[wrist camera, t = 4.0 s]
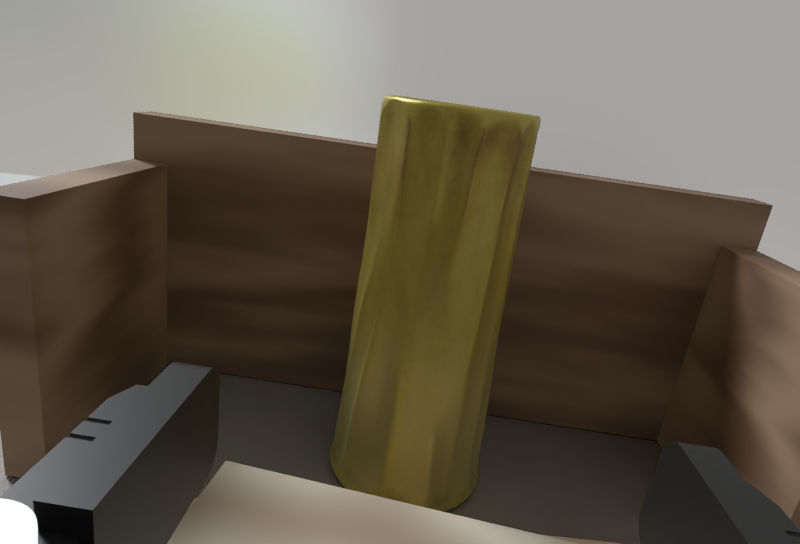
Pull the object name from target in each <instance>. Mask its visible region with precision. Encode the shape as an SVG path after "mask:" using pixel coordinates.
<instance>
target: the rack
mask: <svg viewBox="0 0 800 544" xmlns="http://www.w3.org/2000/svg"><path fill="white" fill-rule="evenodd" d="M133 117H134V118H133V119H134V159H132V160H127V161H122V162H117V163H112V164H107V165H102V166H98V167H93V168H88V169H83V170H78V171H73V172H68V173H63V174H58V175H53V176H48V177H43V178H38V179H33V180H28V181H23V182H19V183H14V184H9V185H4V186H0V431H1V440H2V449H3V458H4V467H5V476H11V477H18V478H21V477H22V476H23V475H25V474H26V473H27V472H28V471H29V470H30V469H31V468H32V467H33V466H34V465H35V464H37V463H38V462H39V461H40V460H41V459H42V458H43V457H44V456H45V455H46V454H48V453H49V452H50V451H51V450H52V449H53V448H54V447H55V446H56V445H57V444H59V443H60V442H61V441H62V440H63V439H64V438H65V437H67V438H68V437H69V436H70V433H71V432H72V431H73V430H74V429H75V428H76V427H77V426H78V425H79V424H81V423H82V422H83V421H87V417H88V416H89V415H90V414H91V413H93V412H94V411H95V410H96V409H97V408H98V407H99V406H100V405H101V404H102V403H104V402H105V401H106V400H107V399H108V398H110V397H112V396H114V395H116V394H118V393H120V392H122V391H125V390H127V389H129V388H131V387H133V386H135V385H143V386H146V385H147V384H148V383H149V382H150V381H151V380H152V379H153V378H154V377H155V376H156V375H157V374H158V373H159V372H160V371H161V370H162V369H163V368H164V367H165V366H166V365H170V364H171V363H173V362H180V363H187V364H193V365H200V366H206V367H212V368H216V369H217V370H218V372H219V373H225V374H231V375H238V376H244V377H251V378H257V379H263V380H270V381H276V382H283V383H289V384H295V385H302V386H308V387H315V388H321V389H328V390H334V391H340V392H343V387H344V382H345V377H346V368H347V359H348V353H349V345H350V337H351V329H352V322H353V314H354V307H355V300H356V294H357V287H358V281H359V275H360V270H361V264H362V258H363V251H364V244H365V238H366V231H367V224H368V217H369V207H370V198H371V189H372V181H373V173H374V166H375V158H376V151H377V144H370V143H363V142H356V141H350V140H343V139H336V138H329V137H322V136H315V135H308V134H301V133H295V132H288V131H281V130H274V129H267V128H260V127H253V126H246V125H239V124H233V123H226V122H218V121H212V120H205V119H198V118H191V117H184V116H178V115H171V114H164V113H157V112H134V113H133ZM771 209H772V205H769V204H766V203H763V202H760V201H757V200H754V199H748V198H741V197H734V196H727V195H720V194H713V193H706V192H700V191H692V190H686V189H679V188H672V187H666V186H658V185H651V184H645V183H638V182H631V181H624V180H617V179H610V178H604V177H597V176H590V175H583V174H576V173H569V172H562V171H556V170H549V169H542V168H535V167H531V168H530V174H529V180H528V186H527V191H526V197H525V202H524V208H523V212H522V217H521V222H520V227H519V232H518V238H517V244H516V249H515V254H514V260H513V265H512V269H511V274H510V279H509V284H508V289H507V294H506V299H505V305H504V310H503V316H502V321H501V326H500V331H499V337H498V343H497V349H496V356H495V361H494V369H493V376H492V383H491V389H490V396H489V403H488V409H487V414H488V415H495V416H501V417H507V418H514V419H520V420H527V421H533V422H540V423H546V424H552V425H559V426H565V427H572V428H578V429H585V430H591V431H597V432H604V433H610V434H617V435H623V436H630V437H636V438H642V439H649V440H655V441H657V442H658V444H659V445H660V447H661V448H662V449H663V447H664V446H665V445H666V444H667V443H668V442H670V441H676V442H682V443H688V444H695V445H701V446H707V447H714V448H717V449H719V450H720V451H721V452H722V453H723V454H724V455H725V456H726V458H727V459H728V460H729V461H730V463H731V464H732V465H733V467H734V468H735V469H736V470H737V472H738V473H739V474H740V475H741V477H742V478H743V479H744V480H745V482H747V483H750V484H751V485H753V486H754V487H755V488H756V489H758V490H759V491H760V492H762V493H763V494H764V495H765V496H767V497H768V498H769V499H770V500H772V501H773V502H774V503H776V504H777V505H778V506H779V507H780V508H781V509H782V510H783V511H784V512H785V514H786V515H787V516H788V517H789V518H790V520H791V521H792V522H793V523H794V525H795V526H796V527H797V528H798V529H799V531H800V272H799V271H797V270H795V269H793V268H791V267H789V266H787V265H785V264H782V263H781V262H779V261H777V260H775V259H772V258H770V257H768V256H766V255H764V254H762V253H760V252H758V251H757V248H758V246H759V243H760V240H761V237H762V234H763V232H764V229H765V226H766V223H767V220H768V217H769V215H770V212H771ZM167 544H622V543H614V542H604V541H595V540H586V539H576V538H567V537H558V536H549V535H539V534H535V533H531V532H527V531H522V530H518V529H514V528H510V527H505V526H501V525H497V524H493V523H488V522H484V521H480V520H476V519H472V518H467V517H463V516H459V515H455V514H450V513H446V512H442V511H438V510H434V509H429V508H425V507H421V506H417V505H412V504H408V503H404V502H400V501H395V500H391V499H387V498H383V497H379V496H374V495H370V494H366V493H362V492H357V491H353V490H349V489H345V488H341V487H336V486H332V485H328V484H324V483H319V482H315V481H311V480H307V479H302V478H298V477H294V476H290V475H286V474H281V473H277V472H273V471H269V470H264V469H260V468H256V467H252V466H247V465H243V464H239V463H235V462H231V461H225V462H224V464H223V465H222V466H221V467H220V469H219V470H218V471H217V473H216V474H215V475H214V477H213V478H212V479H211V481H210V482H209V483H208V484H207V486H206V487H205V488H204V490H203V491H202V492H201V494H200V495H199V496H198V497H197V498H196V497H195V499H194V500H193V502H192V503H191V505H190V507H189V508H188V510H187V512H186V513H185V515H184V517H183V518H182V520H181V521H180V523H179V525H178V526H177V528H176V530H175V531H174V533H173V535H172V536H171V538H170V540H169V541H168V543H167Z"/></svg>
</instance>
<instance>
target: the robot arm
mask: <svg viewBox="0 0 800 544" xmlns="http://www.w3.org/2000/svg"><path fill="white" fill-rule="evenodd" d="M219 385H220V378H219V372H218V370H217V369H216V368H212V367H206V366H200V365H193V364H187V363H180V362H173V363H171V364H170V365H169V366H168V367H167V368H166V369H165V370H164V371H163V372H162V373H161V374H160V375H159V376H158V377H157V378H156V379H155V380H154V381H153V382H152V383H151V384H150V385H149V386H143V385H135V386H133V387H131V388H129V389H127V390H125V391H122V392H120V393H118V394H116V395H114V396H112V397H110V398H108V399H107V400H106V401H105V402H104V403H102V404H101V405H100V406H99V407H98V408H97V409H96V410H95V411H94V412H93V413H91V414H90V415H89V416H88V417H87V421H83V422H82V423H81V424H79V425H78V426H77V427H76V428H75V429H74V430H73V431H72V432H71V433H70V436H69V437H68V438H67V437H65V438H64V439H63V440H62V441H61V442H60V443H59V444H57V445H56V446H55V447H54V448H53V449H52V450H51V451H50V452H49V453H48V454H46V455H45V456H44V457H43V458H42V459H41V460H40V461H39V462H38V463H37V464H35V465H34V466H33V467H32V468H31V469H30V470H29V471H28V472H27V473H26V474H25V475H23V476H22V477H21V478H20V479H19V480H18V481H17V482H16V483H15V484H14V485H12V486H11V487H10V488H9V489H8V490H7V491H6V492H5V493H4V494H3V495H1V496H0V544H167V543H168V541H169V540H170V538H171V536H172V535H173V533H174V531H175V530H176V528H177V526H178V525H179V523H180V521H181V520H182V518H183V517H184V515H185V513H186V512H187V510H188V508H189V507H190V505H191V503H192V502H193V500H194V499H195V497H196V495H197V494H198V492H199V490H200V489H201V487H202V485H203V484H204V482H205V480H206V479H207V477H208V475H209V473H210V470H211V468H212V465H213V462H214V458H215V454H216V449H217V440H218V413H219ZM639 534H640V541H641V544H800V531H799V529H798V528H797V527H796V526H795V525H794V523H793V522H792V521H791V520H790V518H789V517H788V516H787V515H786V514H785V512H784V511H783V510H782V509H781V508H780V507H779V506H778V505H777V504H776V503H774V502H773V501H772V500H770V499H769V498H768V497H767V496H765V495H764V494H763V493H762V492H760V491H759V490H758V489H756V488H755V487H754V486H753V485H751V484H750V483H747V482H745V480H744V479H743V478H742V477H741V475H740V474H739V473H738V472H737V470H736V469H735V468H734V467H733V465H732V464H731V463H730V461H729V460H728V459H727V458H726V456H725V455H724V454H723V453H722V452H721V451H720V450H719V449H717V448H714V447H707V446H701V445H695V444H688V443H682V442H676V441H670V442H668V443H667V444H666V445H665V446H664V447H663V449H662V451H661V454H660V457H659V460H658V463H657V466H656V469H655V471H654V474H653V477H652V480H651V483H650V486H649V489H648V492H647V495H646V498H645V501H644V504H643V507H642V510H641V513H640V520H639Z"/></svg>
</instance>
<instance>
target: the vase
mask: <svg viewBox="0 0 800 544" xmlns="http://www.w3.org/2000/svg"><path fill="white" fill-rule="evenodd" d="M539 127H540V117H539V116H534V115H528V114H522V113H515V112H508V111H501V110H495V109H488V108H480V107H473V106H467V105H459V104H453V103H446V102H438V101H432V100H425V99H417V98H411V97H403V96H395V95H387V96H386V97H385V98H384V100H383V102H382V107H381V115H380V124H379V135H378V143H377V151H376V158H375V166H374V173H373V181H372V189H371V198H370V207H369V217H368V224H367V231H366V238H365V244H364V251H363V258H362V264H361V270H360V275H359V281H358V287H357V294H356V300H355V307H354V314H353V322H352V329H351V337H350V345H349V353H348V359H347V368H346V377H345V382H344V387H343V392H342V397H341V403H340V408H339V413H338V418H337V423H336V430H335V435H334V439H333V443H332V445H331V447H330V451H329V457H330V463H331V467H332V469H333V472H334V473H335V475H336V477H337V478H338V480H339V481H340V483H341V484H342V486H343V487H344V488H345V489H349V490H353V491H357V492H362V493H366V494H370V495H374V496H379V497H383V498H387V499H391V500H395V501H400V502H404V503H408V504H412V505H417V506H421V507H425V508H429V509H434V510H438V511H442V512H445V511H448V510H450V509H452V508H454V507H456V506H458V505H459V504H461V503H462V502H464V501H465V500H466V499H467V498H468V497H469V496H470V494H471V493H472V492H473V490H474V488H475V486H476V483H477V480H478V474H479V455H480V447H481V443H482V439H483V434H484V428H485V422H486V414H487V409H488V403H489V396H490V389H491V383H492V376H493V369H494V361H495V356H496V349H497V343H498V337H499V331H500V326H501V321H502V316H503V310H504V305H505V299H506V294H507V289H508V284H509V279H510V274H511V269H512V265H513V260H514V254H515V249H516V244H517V238H518V232H519V227H520V222H521V217H522V212H523V208H524V202H525V197H526V191H527V186H528V180H529V174H530V168H531V162H532V158H533V153H534V149H535V144H536V139H537V134H538V130H539Z"/></svg>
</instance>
